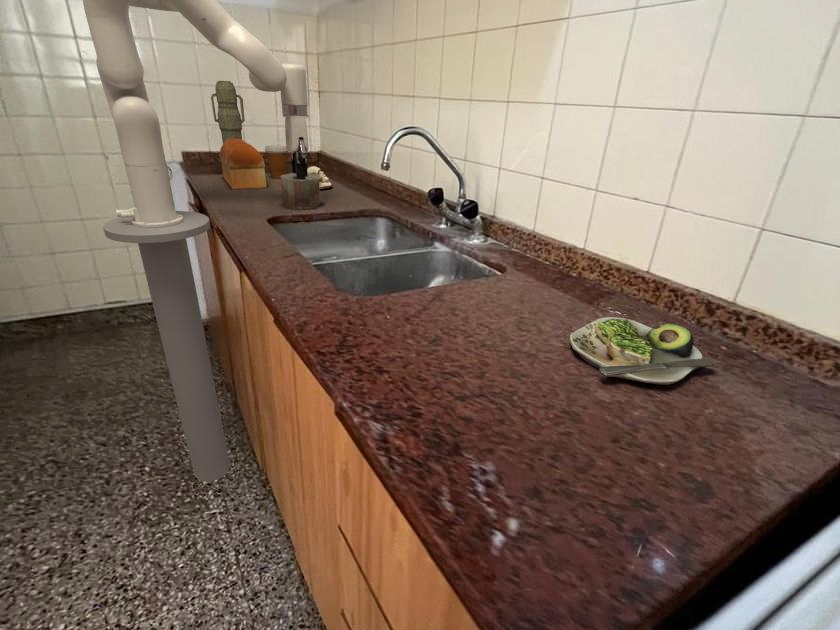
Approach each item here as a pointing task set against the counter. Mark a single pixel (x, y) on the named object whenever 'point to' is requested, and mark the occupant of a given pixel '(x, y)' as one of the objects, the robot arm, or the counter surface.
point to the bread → (242, 165)
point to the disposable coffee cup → (277, 160)
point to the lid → (300, 179)
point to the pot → (301, 194)
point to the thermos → (228, 110)
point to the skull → (324, 180)
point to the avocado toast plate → (638, 350)
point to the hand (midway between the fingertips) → (299, 174)
